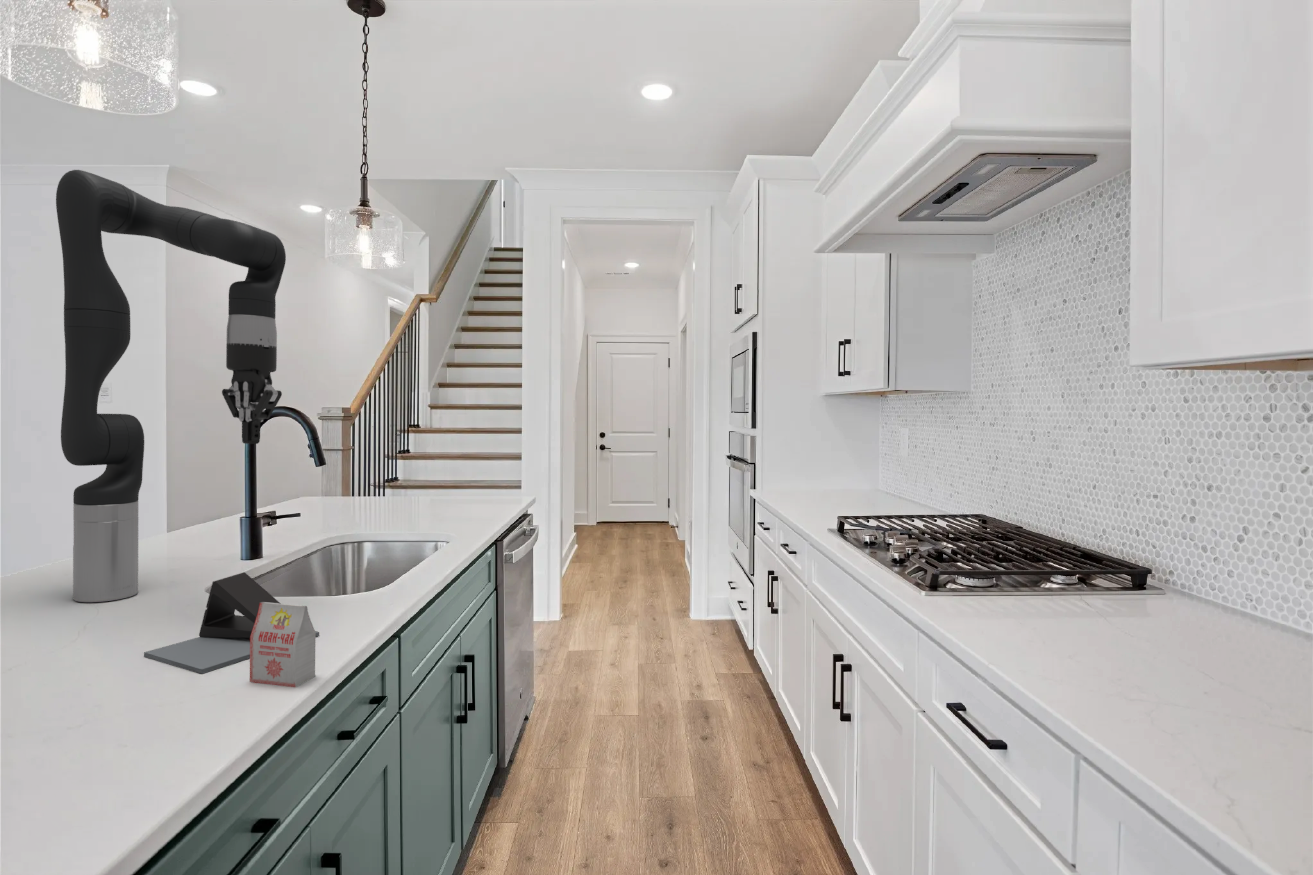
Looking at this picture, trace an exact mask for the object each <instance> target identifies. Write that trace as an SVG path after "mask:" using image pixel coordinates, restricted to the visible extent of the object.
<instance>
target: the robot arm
mask: <svg viewBox="0 0 1313 875" xmlns="http://www.w3.org/2000/svg"><path fill="white" fill-rule="evenodd" d="M61 176H62V177H61V178H60V180H59V181H58V184H57V187H56V192H55V195H56V196H55V208H56V215H57V217H56V218H57V222H58V230H59V237H60V245H61V251H62V252H61V253H62V263H63V264H62V265H63V266H62V267H63V288H64V289H63V291H64V294H63V295H64V296H63V300H64V301H63V332H64V335H63V336H64V348H65V349H64V354H65V355H64V356H65V361H64V362H65V374H64V377H65V380H64V382H65V383H64V391H63V392H64V393H63V400H62V401H63V403H62V412H61V421H60V422H61V423H60V424H61V425H60V443H61V444H60V445H61V449H62V453H63V455H64V459H66V460H67V462H68V463H70V464H71V465H73V466H76V467H77V466H79V467H82V466H83V467H86V466H104V465H105V466H106V467H105V469H104V471H103V473H101V475H99V476H98V477H96V478H94V479H92V480H90V481H89V482H86V483H83V484H81V485H78V486H77V487H75V489H74V490H73V494H72V495H73V501H72V502H73V510H72V511H73V513H72V514H73V545H72V546H73V547H72V596H73V601H75V602H79V603H100V602H101V603H102V602H108V601H109V602H110V601H116V600H123V599H125V598H130V597H133V596H135V595H137V594H138V593H139V494H140V490H141V487H142V483H143V471H144V454H145V433H144V429H143V426H142V423H141V422H140V420H139V419H138V418H137V417H136V416H135V415H132V414H127V413H98V405H99V404H98V401H99V396H100V391H101V388H102V387H103V386H102V385H103V383H104V382H105V379H106V378H107V377H108V375H109V374H110V373H111V371H112V370H113V369H114V367H115V366H116V365H117V364H118V362H119V361H120V360H121V358H122V357H123V355H124V354H125V352H126V351H127V349H128V347H129V345H130V343H131V308H130V304H129V300H128V297H127V296H126V293H125V292H124V289H123V288H122V286H121V284H120V283H119V281H118V279H117V278H116V275H115V274H114V273H113V271H112V269H111V267H110V265H109V264H108V262H107V259H106V256H105V252H104V248H103V236H102V232H104V233H108V234H119V235H127V236H128V235H129V236H141V237H149V238H154V239H158V240H161V241H163V242H166V243H168V244H169V245H172V246H175V247H177V248H181V249H183V250H187V251H190V252H193V253H197V254H200V255H202V256H203V255H204V256H208V257H213V258H217V259H219V260H222V261H224V262H227V263H231V264H233V265H236V266H240V267H244V268H247V273H246V277H245V279H244V280H238V281H235V282H233V283H231V285H229V288H228V314H227V315H228V317H227V325H226V352H225V353H226V354H225V355H226V359H225V360H226V361H225V363H226V364H225V365H226V366H225V367H226V369H227V370H229V371H232V372H233V373H232V377H231V382H230V383H231V385H230V386H229V388H222V390H221V394H222V396H223V397H222V398H223V399H224V401H225V403H226V405H227V407H228V409H229V411H230V413H231V415H232V417H233V418H235V419H236V418H237V419H239V421H240V422H241V443H243V444H246V445H247V444H248V445H254V444H255V445H256V444H257V445H258V444H259V443H260V441H261V423H262V422H264V420H265V419H266V420H268V419H270V418H271V416H272V414H273V412H274V410H275V408H276V407H277V405H278V403H279V401H280V399H281V397H282V394H283V393H282V391H281V390H279V389H278V390H276V389H275V388H274V387H273V379H272V376H271V373H274V372H276V371H277V361H278V360H277V358H278V354H277V353H278V352H277V351H278V350H277V347H278V344H277V343H278V340H277V339H278V333H277V332H278V331H277V326H276V325H277V324H276V310H277V309H276V302H277V301H276V295H277V293H278V290H279V287H280V284H281V281H282V280H281V279H282V276H283V273H284V270H285V268H286V266H285V265H286V261H287V260H286V259H287V258H286V256H287V255H286V249H285V246H284V244H283V242H282V239H280V238H279V237H278V235H276V234H274V233H272V232H270V231H267V230H265V229H261V228H258V227H255V226H253V225H250V224H247V223H244V222H240V221H237V220H233V219H227V218H221V217H218V216H216V215H212V214H210V213H207V212H206V213H205V212H202V211H199V210H195V209H191V208H188V207H187V208H186V207H181V206H172V205H165V204H162V203H159V202H156V201H154V200H152V199H150V198H148V197H146V196H144V195H142V194H140V193H138V192H136V191H135V190H132V189H131V188H129V187H127V186H125V185H124V184H121V183H119V182H117V181H113V180H111V179H108V178H105V177H103V176H101V175H98V174H94V173H91V172H90V171H89V172H88V171H86V170H83V169H72V170H69V171H67V172H65V173H64V174H63V175H61Z"/></svg>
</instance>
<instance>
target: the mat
mask: <svg viewBox="0 0 1313 875" xmlns="http://www.w3.org/2000/svg"><path fill="white" fill-rule="evenodd" d="M315 633H316V638H317V637H319V636H320V631H316V630H315ZM143 657H144V658H148V659H151V660H154V661H158V662H160V663H163V664H168V665H170V666H175V667H178V668H180V669H185V670H188V671H192V672H194V673H197V674H198V673H199V674H201V675H203V674H205V673H209V672H212V671H215V670H218V669H221V668H223V667H228V666H230V665H233V664H236V663H240V662H243V661H245V660H250V638H234V637H200V636H198V637H194V638H190V639H187V640H184V641H179V642H176V643H173V644H169V645H166V646H162V647H158V648H154V649H151V650H148V651H144V652H143Z"/></svg>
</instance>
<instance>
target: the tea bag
mask: <svg viewBox="0 0 1313 875" xmlns="http://www.w3.org/2000/svg"><path fill="white" fill-rule="evenodd" d="M308 610H309V609H308V606H307V605H300V604H289V603H281V604H279V603H269V602H262V603H260V604H259V610H258V614H257V617H256V620H255V624H254V627H253V630H252V633H251V636H250V658H249V683H256V684H257V683H258V684H264V685H265V684H266V685H272V686H273V685H274V686H281V687H291V688H298V687H299V686H301V685H302V684H304V683H306V682H308V681H310V680H312V679H313V678H315V677H316V638H317V637H316V633H315V631H316V630H315V627H314V625H313V622H312V620H311V618H310V614H309V611H308Z"/></svg>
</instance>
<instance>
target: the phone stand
mask: <svg viewBox="0 0 1313 875" xmlns="http://www.w3.org/2000/svg"><path fill="white" fill-rule="evenodd" d="M262 602H269V603H279V604H282V603H281V602H280V601H279V600H277V599H276V598H275V597H274V596H273V595H272V594H270V592H268V591H267V590H266V589H265V588H264V587H263V586H261V585H260V584H259V583H258V582H257V581H255V580H254V579H253V578H252V577H251V576H250V575H249V574H248V573H247V572H240V573H238V574H233V575H231V576H227V577H224V578H220V579H217V580H214V581H212V583H211V587H210V591H209V595H208V599H207V602H206V606H205V608H206V609H204V614H203V618H202V622H201V625H200V629H199V634H198V637H234V638H250V636H251V633H252V630H253V627H254V624H255V620H256V617H257V614H258V610H259V604H260V603H262ZM235 611H237V612H239V613H240V614H241V615H238V614H235Z"/></svg>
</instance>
